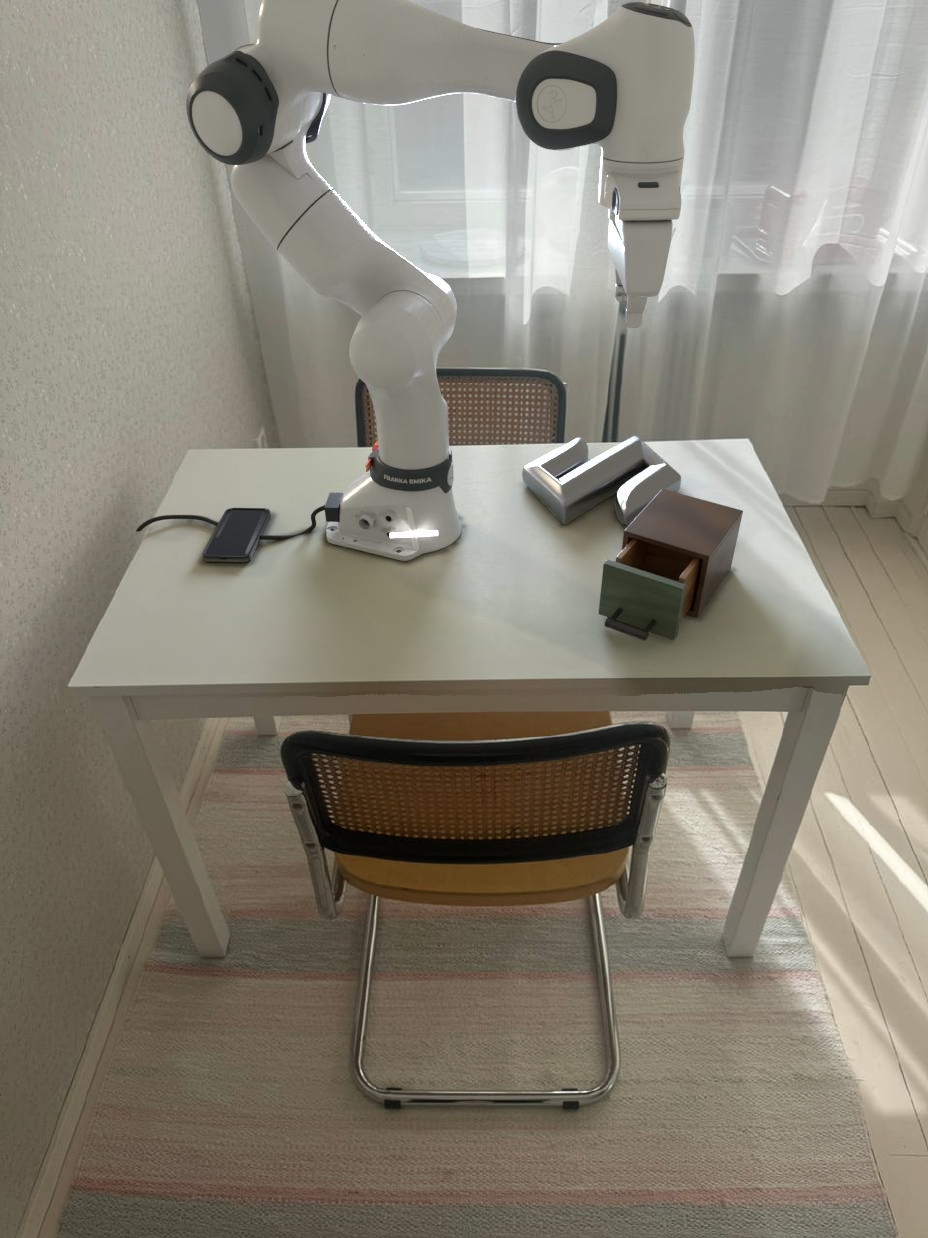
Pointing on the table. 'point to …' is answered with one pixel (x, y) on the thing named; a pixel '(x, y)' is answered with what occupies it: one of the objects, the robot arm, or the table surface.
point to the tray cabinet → (691, 536)
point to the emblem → (599, 479)
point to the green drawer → (648, 590)
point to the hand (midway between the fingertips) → (627, 312)
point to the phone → (237, 535)
